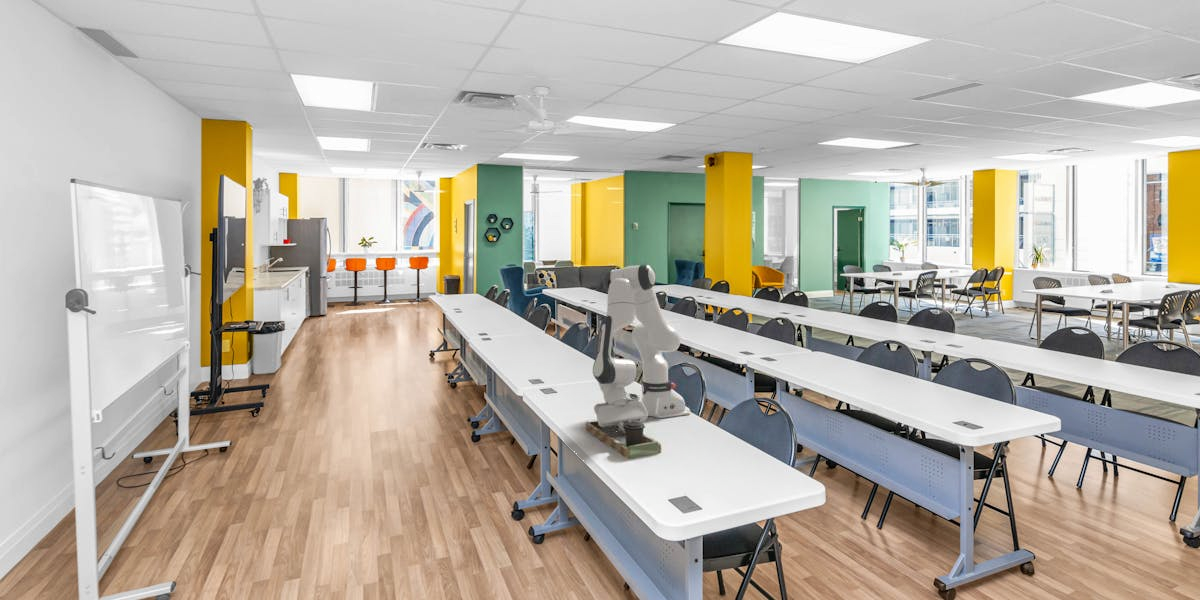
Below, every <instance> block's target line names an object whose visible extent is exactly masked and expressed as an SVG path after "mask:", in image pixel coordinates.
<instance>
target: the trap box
mask: <svg viewBox="0 0 1200 600" xmlns="http://www.w3.org/2000/svg"><path fill="white" fill-rule="evenodd" d="M623 425H624V424H623ZM615 426H616V428H617V429H619V430H620V431H622V432H623V430H621V429H620V428H619V426H618V425H614V427H615ZM610 427H613V426H607V427H600V426H599V424H598V420H595V421H589V422H585V431H586V430H587V432H588V433H589V432H590V433H589V434H590V435H592V434H593V435H592V436H594V437H595V436H596V437H595V438H596V439H598V440H599V441H601V442H602V443H604V444H606V446H609V447H610V448H611V449H613V450H614V451H616V452H617V453H618V454H620V455H622V456H623V457H625V459H632V458H636V457H637V458H638V457H641V456H646V455H648V456H649V455H653V454H659V453H661V452H662V443H660V442H659V441H657V440H656V439H654V438H652V437H651V436H649V435H647V434H644V433H643V438H642V444H637V445H631V446H628V447H626V444H623V443H622V442H620V441H618V439H615V438H614V437H613V438H611V437H610V436H608V435H607V434H605V433H604V432H602V431H601V430H599V429H600V428H601V429H604V428H610Z"/></svg>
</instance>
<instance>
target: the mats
mask: <svg viewBox="0 0 1200 600" xmlns="http://www.w3.org/2000/svg"><path fill="white" fill-rule="evenodd" d="M599 430H601V431H602V432H604V433H605V434H607V435H608V436H610V437H611V438H613V439H614V438H617V437H625V434H624V432H623V431H622V430H620V429H619V428H617V427H615V426H614V427H608V428H601V429H599ZM616 431H617V432H616Z"/></svg>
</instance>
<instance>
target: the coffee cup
mask: <svg viewBox="0 0 1200 600" xmlns="http://www.w3.org/2000/svg"><path fill="white" fill-rule="evenodd" d="M645 427H646V426H645V425H644V423H643V422H634V421H632V422H629V423H625V424H624V425H623V428H624V431H625V436H624V438H625V446H626V447H628V446H631V445H637V444H643V443H642V438H643V434H644V429H645Z"/></svg>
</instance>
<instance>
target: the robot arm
mask: <svg viewBox="0 0 1200 600" xmlns="http://www.w3.org/2000/svg"><path fill="white" fill-rule="evenodd" d="M655 284H656V273H655V270H654V268H653V267H652V266H650V265H648V264H640V265H629V266H628V265H627V266H625V267H620V268H618V269H612V270H609V271H607V272H606V273H605V274H604V277H603V287H604V290H605V291H606V292H607V302H606V303H607V308H606V309H607V310H606V313H605V314H606V315H605V316H604V317H603V318H602V319H601V322H600V326H599V331H598V338H597V346H596V353H595V359H594V362H593V367H592V375H593V377H594V379H595V380H596V382H598V386H599V388H600V390H601V392H602V394H603V400H604V402H601V403H597V404H596V405H594V407H593V410H594V413H595V414H596V419H597V420H596V421H598V424H599V426H600V427H607V426H614V425H618V426H619V428H620V429H621V430H620V429H619V428H618V429H619V430H620V431H622V430H623V431H622V432H624V434H625V431H624V428H623V424H625V423H629V422H632V421H634V422H639V423H642V422H645V421H646V420H647V419H648V417H653V418H654V417H655V418H658V419H664V418H665V419H666V418H672V417H679V416H685V415H686V416H687V415H690V414H691V409H690V408H689V407H687V406H686V402H685V399H684V397H683V396H682V395H680V394H679V393H678V392H676V390H674V388H676V384H675V383H674V382H672V381H669V364H668V361H666V359H665V358H664V356H663V353H672V352H673V353H674V352H676V351H677V350H678V349H679V347H680V345H681V342H682V340H681V335H680V333H679V332H678V331H677V330H676V329H675V328H674V327H672V325H671V324H670V323H669V322H668V320H667V319H666V317H665V315H664V314H663V311H662V310H661V307H660V304H659V299H658V298H657V294H656V290H655V288H654V286H655ZM635 319H636V320H637V321H638V322H640V323H641V324H637V325H636V326H634V327H633V329H632V331H631V341H632V343H634V345H635V347H636V348H637V351H638V353H639V355H640V356H639V357H640V358H641V362H642V381H641V393H642V395H641V396H642V397H641V396H640V395H639V394H638V393H633V392H628V391H626V390H625V387H627V386H630V385H631V384H632V383H633V382H635V381H636V379H637V377H638V374H639V373H638V372H639V371H638V366H637V363H636V362H635V361H634V360H633V359H628V358H615V357H614V358H613V357H612V349H613V348H612V346H613V338H614V334H615V333H616V332H617V331H619V330H622V329H624V328H627V327H628V326H630V325H631V324H632V323H633V322H634V320H635ZM614 427H615V426H614Z"/></svg>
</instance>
